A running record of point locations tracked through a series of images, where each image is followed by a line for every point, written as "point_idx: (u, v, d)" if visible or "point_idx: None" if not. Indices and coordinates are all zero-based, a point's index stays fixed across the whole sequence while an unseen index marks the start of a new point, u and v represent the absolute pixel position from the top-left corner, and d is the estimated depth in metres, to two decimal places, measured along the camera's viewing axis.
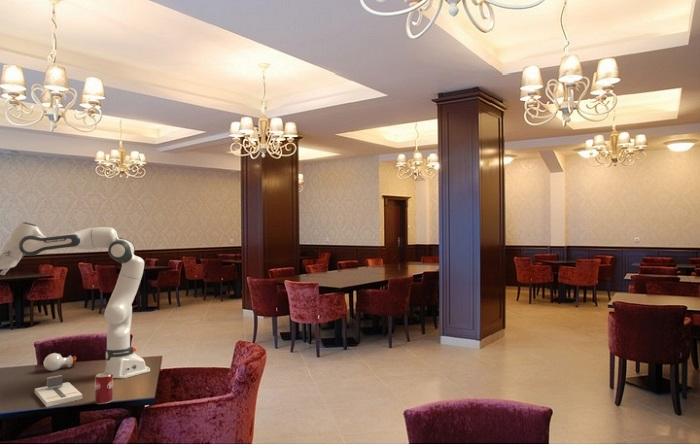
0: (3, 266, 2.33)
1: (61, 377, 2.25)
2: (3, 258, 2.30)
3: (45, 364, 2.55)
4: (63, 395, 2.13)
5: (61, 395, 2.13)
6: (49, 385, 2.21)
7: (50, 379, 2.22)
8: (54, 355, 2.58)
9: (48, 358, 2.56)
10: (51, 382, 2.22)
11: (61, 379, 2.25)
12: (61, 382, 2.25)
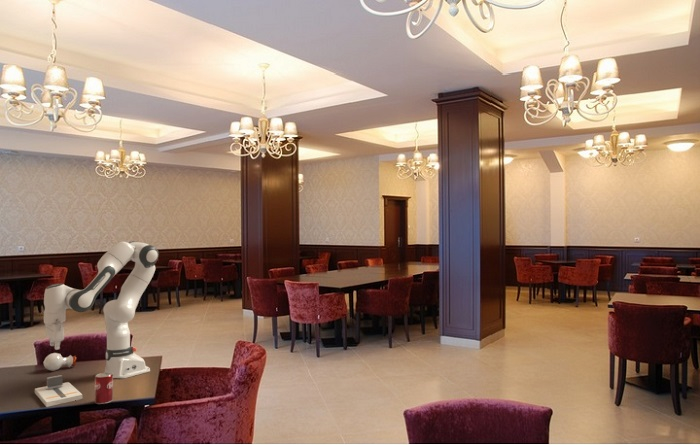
0: None
1: (61, 377, 2.25)
2: (62, 327, 2.18)
3: (45, 364, 2.55)
4: (63, 395, 2.13)
5: (61, 395, 2.13)
6: (49, 385, 2.21)
7: (50, 379, 2.22)
8: (54, 355, 2.58)
9: (48, 358, 2.56)
10: (51, 382, 2.22)
11: (61, 379, 2.25)
12: (61, 382, 2.25)
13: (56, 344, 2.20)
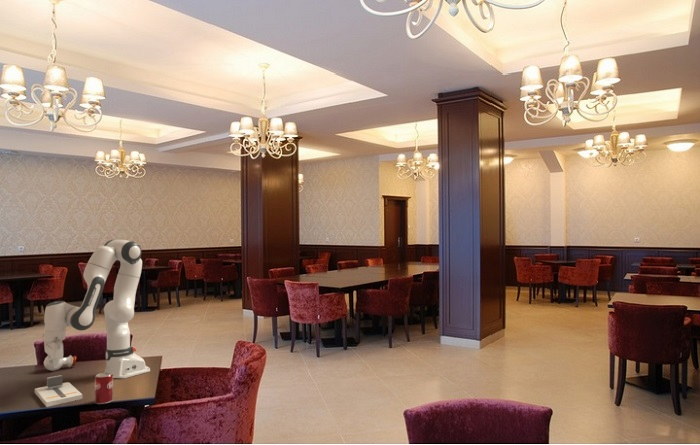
0: None
1: (61, 377, 2.25)
2: (61, 345, 2.18)
3: (45, 364, 2.55)
4: (63, 395, 2.13)
5: (61, 395, 2.13)
6: (49, 385, 2.21)
7: (50, 379, 2.22)
8: None
9: None
10: (51, 382, 2.22)
11: (61, 379, 2.25)
12: (61, 382, 2.25)
13: (55, 362, 2.19)
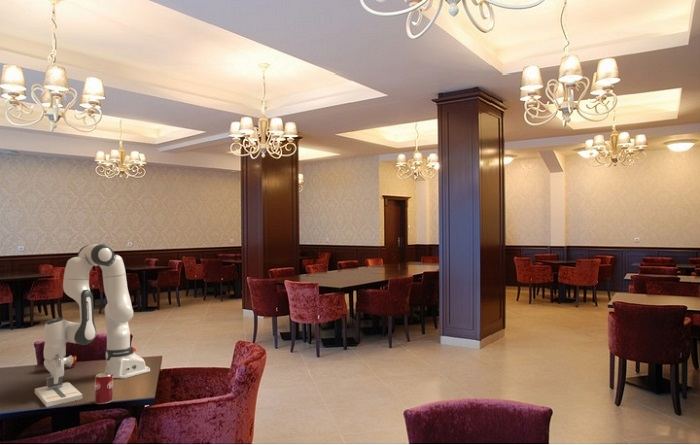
0: None
1: (61, 377, 2.25)
2: (62, 363, 2.18)
3: None
4: (63, 395, 2.13)
5: (61, 395, 2.13)
6: (49, 385, 2.21)
7: (50, 379, 2.22)
8: None
9: None
10: (51, 382, 2.22)
11: (61, 379, 2.25)
12: (61, 382, 2.25)
13: (55, 378, 2.21)
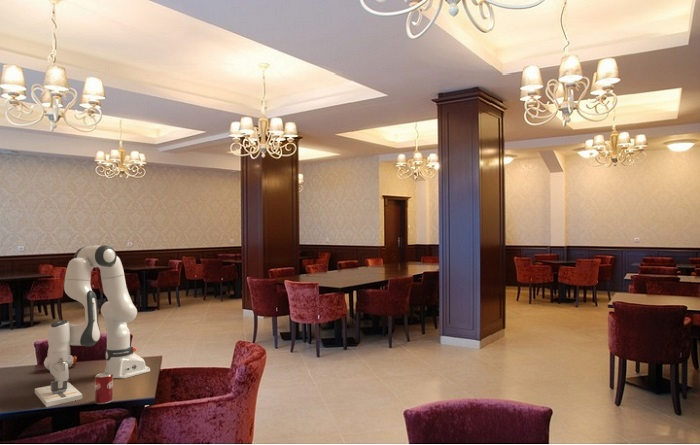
0: None
1: (65, 381, 2.19)
2: (66, 366, 2.12)
3: (46, 364, 2.55)
4: (63, 395, 2.13)
5: (61, 395, 2.13)
6: (53, 389, 2.15)
7: (54, 383, 2.16)
8: None
9: None
10: (55, 386, 2.16)
11: (65, 383, 2.19)
12: (65, 386, 2.19)
13: (59, 383, 2.15)
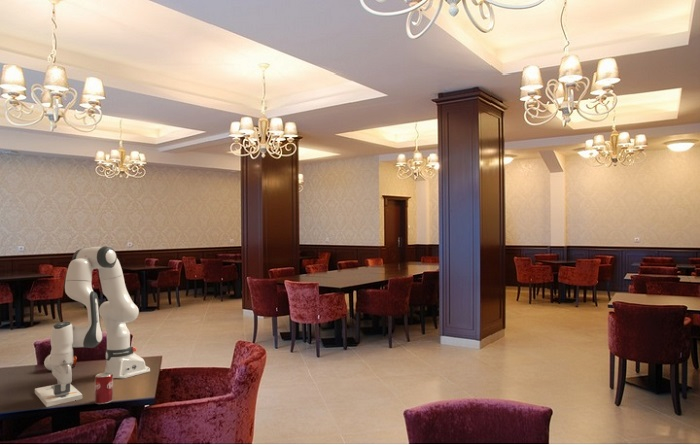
0: None
1: (68, 384, 2.15)
2: (69, 369, 2.08)
3: (46, 364, 2.56)
4: (63, 395, 2.13)
5: None
6: (56, 392, 2.11)
7: (57, 386, 2.12)
8: None
9: (49, 358, 2.56)
10: (58, 389, 2.12)
11: (68, 386, 2.15)
12: (68, 389, 2.15)
13: (62, 385, 2.11)
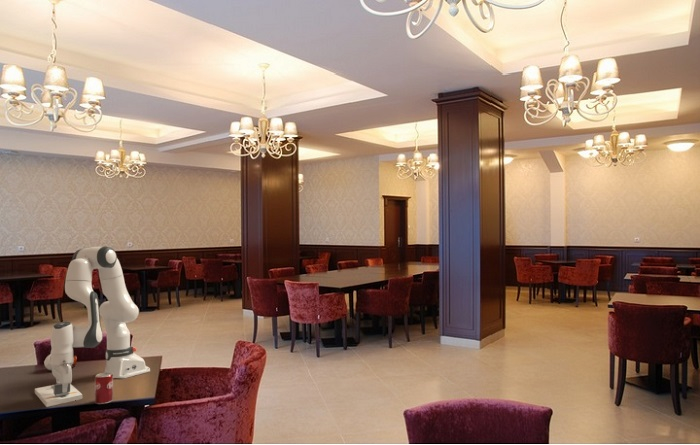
0: None
1: (69, 384, 2.15)
2: (70, 369, 2.08)
3: (46, 364, 2.56)
4: (63, 395, 2.13)
5: None
6: (56, 392, 2.11)
7: (57, 386, 2.12)
8: None
9: (49, 358, 2.56)
10: (58, 389, 2.12)
11: (69, 386, 2.15)
12: (69, 389, 2.15)
13: (63, 387, 2.09)
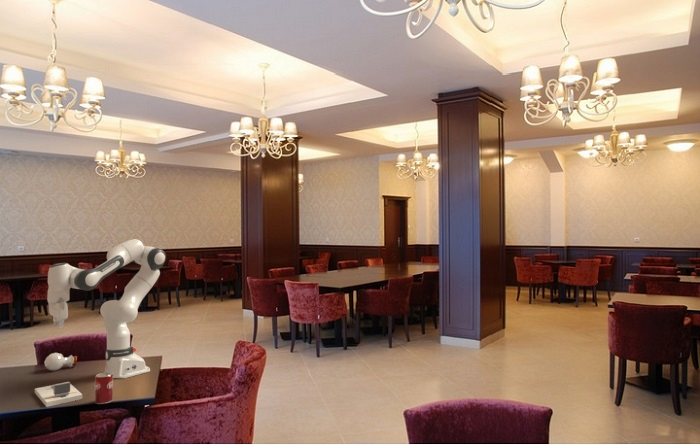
0: None
1: (69, 384, 2.15)
2: (66, 305, 2.18)
3: (46, 364, 2.56)
4: (63, 395, 2.13)
5: None
6: (56, 392, 2.11)
7: (57, 386, 2.12)
8: (55, 355, 2.58)
9: (49, 358, 2.56)
10: (58, 389, 2.12)
11: (69, 386, 2.15)
12: (69, 389, 2.15)
13: (60, 323, 2.19)
